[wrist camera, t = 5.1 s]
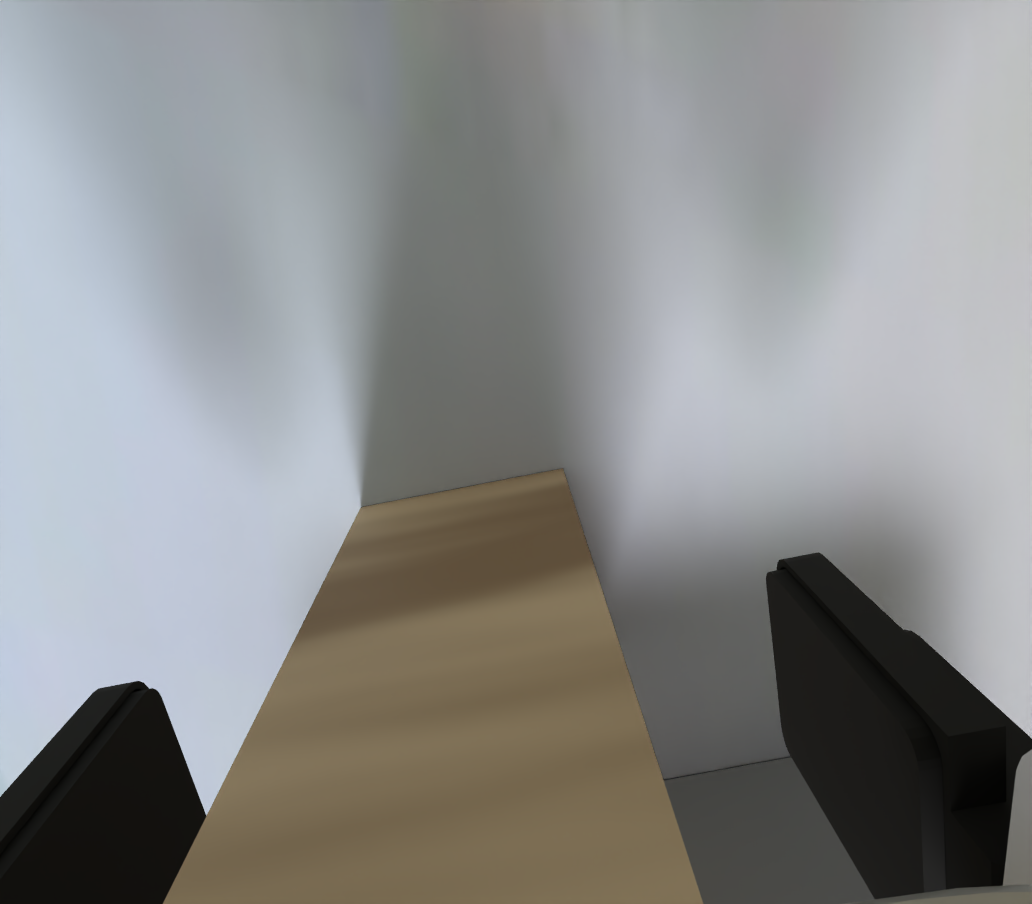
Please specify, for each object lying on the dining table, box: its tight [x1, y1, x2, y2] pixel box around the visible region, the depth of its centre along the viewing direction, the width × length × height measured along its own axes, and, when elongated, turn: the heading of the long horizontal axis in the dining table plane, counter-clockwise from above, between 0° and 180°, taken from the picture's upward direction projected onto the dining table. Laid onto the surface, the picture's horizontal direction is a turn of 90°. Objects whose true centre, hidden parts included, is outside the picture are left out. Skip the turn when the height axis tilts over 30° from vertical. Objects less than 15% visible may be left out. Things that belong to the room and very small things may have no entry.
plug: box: [163, 468, 703, 904], centre depth 10 cm, size 4×4×10 cm
